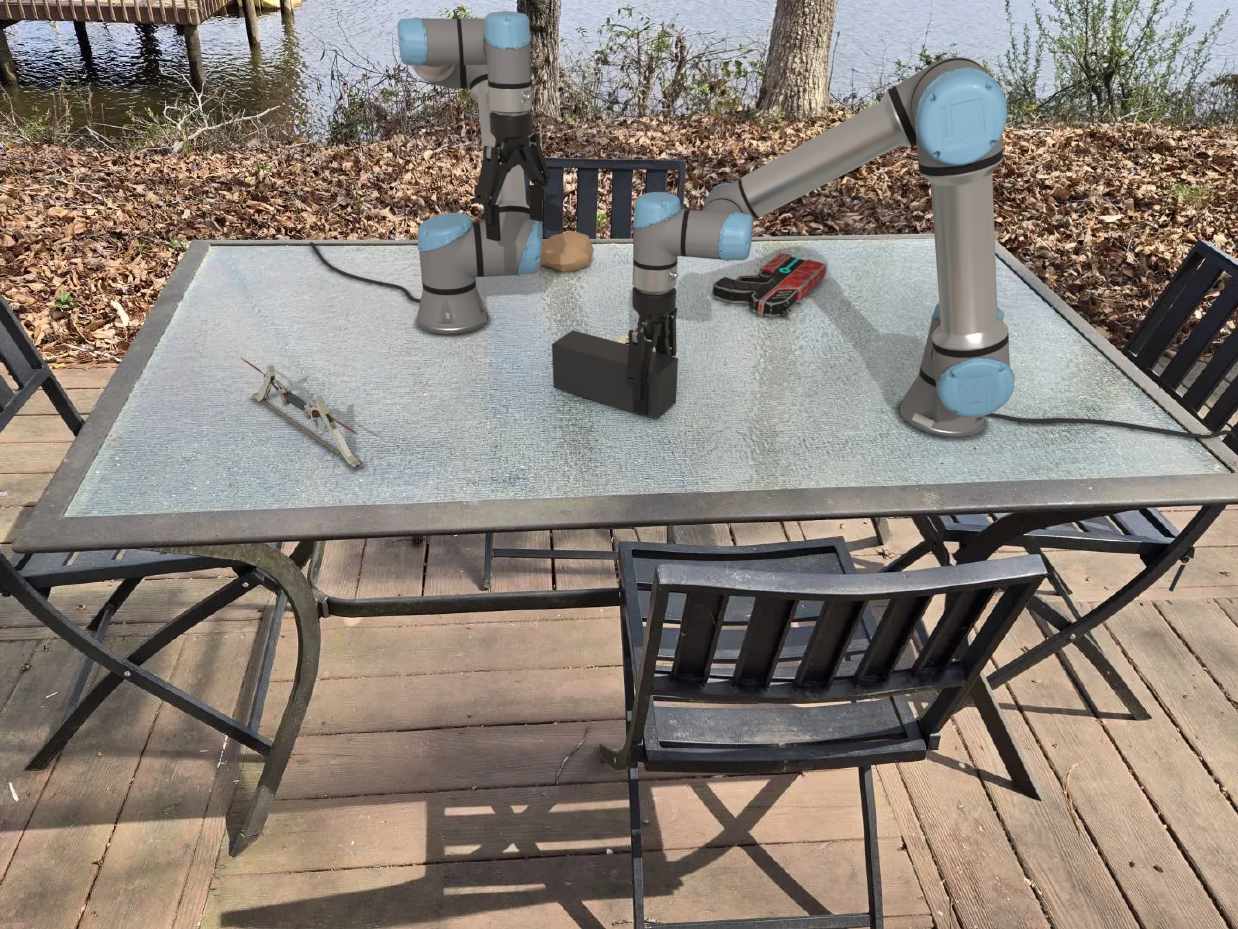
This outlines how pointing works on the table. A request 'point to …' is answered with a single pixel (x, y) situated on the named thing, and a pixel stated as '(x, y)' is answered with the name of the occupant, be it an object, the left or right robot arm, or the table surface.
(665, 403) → the box
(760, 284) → the gun
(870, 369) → the table surface
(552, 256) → the squash
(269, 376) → the bow
